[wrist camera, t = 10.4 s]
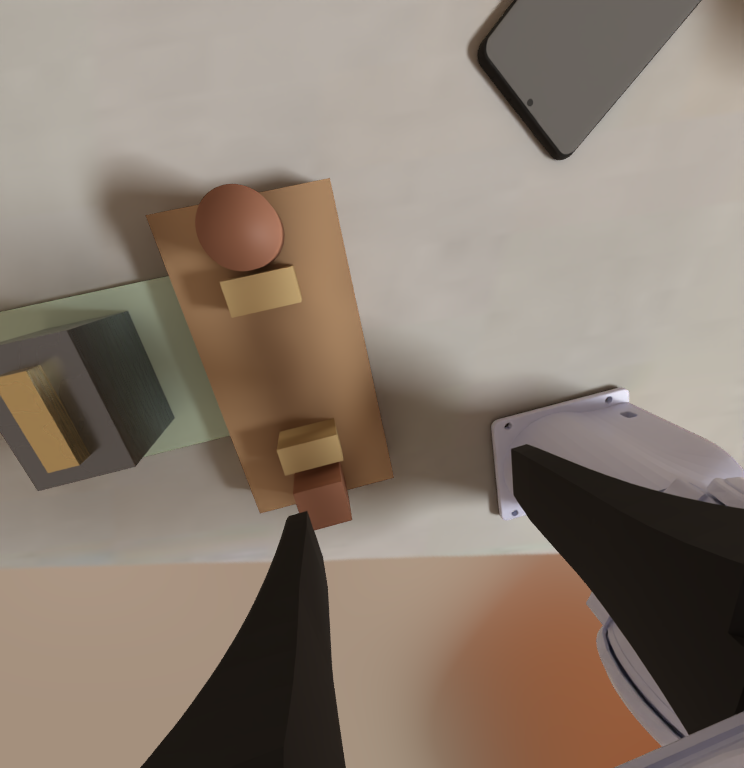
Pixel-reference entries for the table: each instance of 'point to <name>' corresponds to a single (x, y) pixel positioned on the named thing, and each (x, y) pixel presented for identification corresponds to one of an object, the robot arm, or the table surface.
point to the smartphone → (574, 59)
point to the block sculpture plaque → (280, 341)
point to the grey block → (80, 400)
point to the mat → (161, 342)
